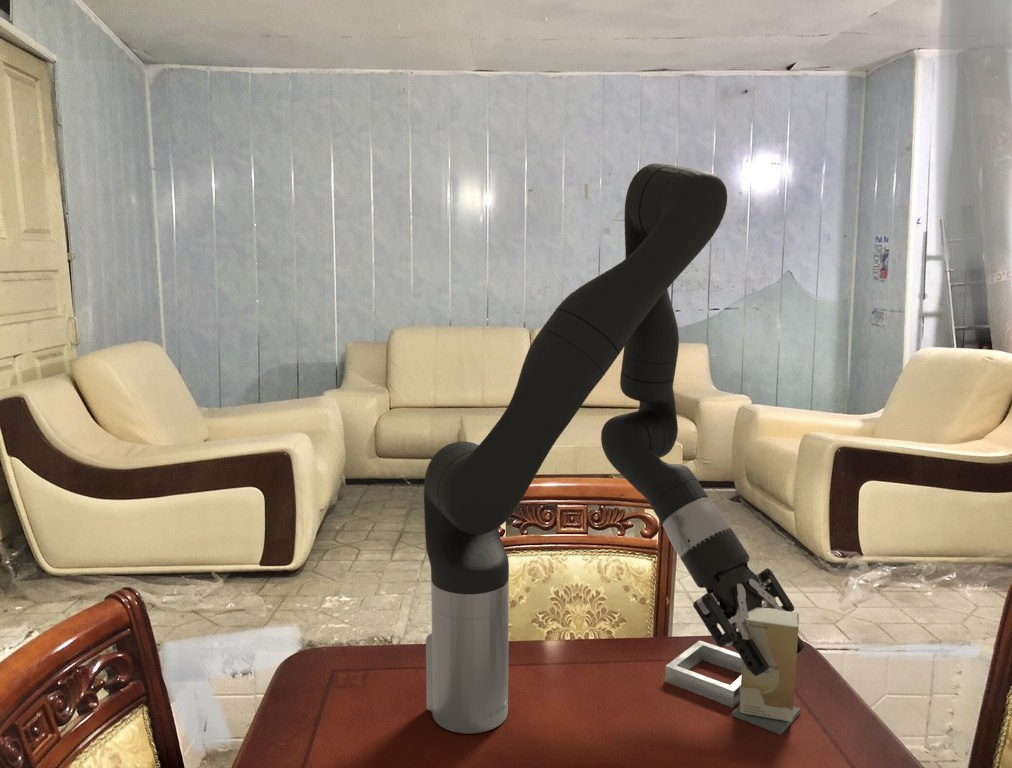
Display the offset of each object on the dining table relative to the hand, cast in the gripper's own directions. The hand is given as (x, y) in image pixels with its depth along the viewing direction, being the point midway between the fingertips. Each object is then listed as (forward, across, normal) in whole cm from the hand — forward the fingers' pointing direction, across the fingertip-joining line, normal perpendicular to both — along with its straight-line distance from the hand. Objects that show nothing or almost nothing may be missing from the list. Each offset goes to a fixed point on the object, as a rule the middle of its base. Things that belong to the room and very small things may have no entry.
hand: (780, 662), depth 96 cm
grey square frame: (-2, +2, +13) cm, 13 cm away
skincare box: (+4, 0, +6) cm, 7 cm away
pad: (+4, 0, +6) cm, 8 cm away
